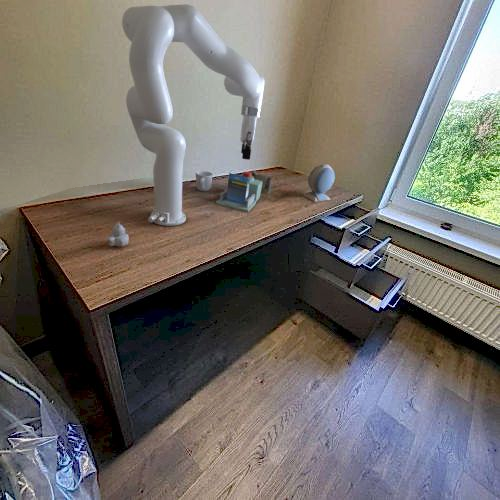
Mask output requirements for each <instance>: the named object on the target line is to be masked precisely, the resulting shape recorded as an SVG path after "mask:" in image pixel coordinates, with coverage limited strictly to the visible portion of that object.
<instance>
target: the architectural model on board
mask: <svg viewBox="0 0 500 500" xmlns="http://www.w3.org/2000/svg"><path fill="white" fill-rule="evenodd" d="M251 171H252V172H251V175H252V176H253V177H254V179H255V180H260V181H263V183H262V188H261V193H263V194H266V195H269V194H271V192H272V191H275V189H273V188H272V185H273V180H274V178H272V177H269V176H266V175H262V174H260V173H258V172H257V170H255V169H252V170H251Z"/></svg>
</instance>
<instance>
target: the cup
mask: <svg viewBox="0 0 500 500" xmlns="http://www.w3.org/2000/svg"><path fill="white" fill-rule="evenodd" d="M213 177H214V176H213V173H212V172H211V171H206V170H198V171H195V185H196V189H197V190H198V191H200V192H209V191H210V190H211V189H212V183H213Z"/></svg>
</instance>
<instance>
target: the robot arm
mask: <svg viewBox="0 0 500 500" xmlns="http://www.w3.org/2000/svg"><path fill="white" fill-rule="evenodd" d="M121 26H122V31H123V33H124V35H125V36H126V38H127V39H128V41H130V42H131V44H130V48H129V54H128V60H129V61H128V62H129V68H130V73H131V76H132V77H131V78H132V80H133V84H134V85H132V86H131V87H130V88H129V89H128V92H127V93H126V98H125V102H126V108H127V111H128V115H129V117H130V121H131V123H132V126H133V129H134V131H135V134H136V136H137V139H138V141H139V143H140V145H141V146H142V147H143V148H144V149H145V150H147V151H149V152H151V153H153V154H155V160H154V163H153V167H152V168H153V169H152V176H153V200H154V202H153V204H154V209H153V211H152V212H151V213H150V216H149V217H148V218H147V221H148V222H149V223H154V224H156V225H160V226H164V227H176V226H179V225H182V224H183V223H185V222H186V220H187V216H186V214H185V213H184V212H183V170H184V168H183V167H184V160H185V155H186V150H187V143H186V139H185V137H184V136H183V134H182V133H181V132H180V131H179V130H178V129H175V128H173V127H172V126H171V127H170V126H168V125H167V124H168V123H170V122H171V120H172V119H173V115H174V111H173V110H174V109H173V108H174V107H173V103H172V100H171V95H170V91H169V88H168V84H167V81H166V76H165V71H164V58H165V55H166V52H167V50H168V48H169V46H170V45H171V44H172V43H182V44H184V45H185V46H186V47H187V48H189V50H190V51H191V52H192V53H193V54H194V55H195V56H196V57H197V58H198V59H199V60H200V61H201V62H202V63H203V64H204V66H205V67H206V68H208V69H209V70H211V71H213V72H215V73H217V74H219V75H221V76H223V77H224V80H223V85H224V89H225V90H226V92H228V93H229V94H230V95H233V96H236V97H241V98H242V102H241V111H240V115H241V116H243V118H242V123H241V131H240V132H241V133H240V137H239V138H240V142H241V143H242V144H241V150H240V151H241V154H242V156H241V158H242V159H243V160H247V161H248V160H249V161H250V160H251V156H252V144H253V143H254V139H255V133H256V126H257V120H258V119H260V118H261V111H262V104H263V97H264V91H265V84H266V80H265V77H263V76H261V75H259V73H258V72H257V70H256V69H255V68H254V66H253V65H252V64H251V63H250V62H249V61H248V60H247V59H246V58H245V57H243V56H242V55H241V54H239V53H238V52H236V51H235V50H234V49H233V48H231V47H230V46H228V45H227V44H226V43H225V42H224V41H223V39H221V37H220V35H218V33H217V32H216V31H215V30H214V28H213V27H212V26H211V24H210V23H209V22H208V21H207V20H206V17H204V15H202V13H201V12H200V11H199V9H198V8H197V7H195V6H193V5H192V4H168V5H159V6H158V5H142V6H140V5H139V6H130V7H129V8H127V9H126V10H125V11H124V12H123V15H122V19H121Z"/></svg>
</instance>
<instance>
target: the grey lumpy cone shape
mask: <svg viewBox="0 0 500 500" xmlns="http://www.w3.org/2000/svg"><path fill="white" fill-rule="evenodd" d="M111 229H112V233H111V234H110V235H109V236H108V237H107V238H106V242H107V243H108V246H109V247H114V246H116V247H118V248H122V247H125V246H127V245H128V244H129V242H130V236H129V235H128V233H126V228H125V227H124V226H123V225H122V224H120V221H118V222H117V223H115V224H114V225H113V227H112V228H111Z"/></svg>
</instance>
